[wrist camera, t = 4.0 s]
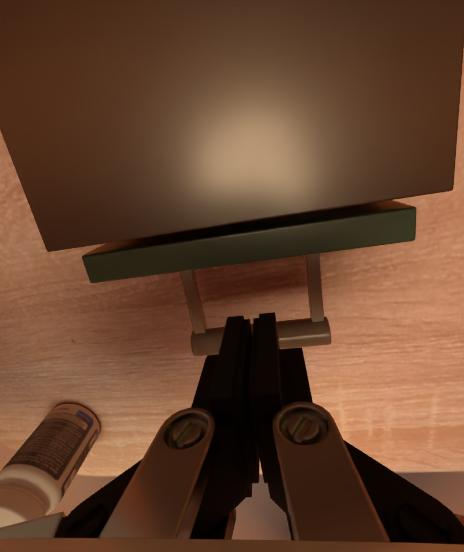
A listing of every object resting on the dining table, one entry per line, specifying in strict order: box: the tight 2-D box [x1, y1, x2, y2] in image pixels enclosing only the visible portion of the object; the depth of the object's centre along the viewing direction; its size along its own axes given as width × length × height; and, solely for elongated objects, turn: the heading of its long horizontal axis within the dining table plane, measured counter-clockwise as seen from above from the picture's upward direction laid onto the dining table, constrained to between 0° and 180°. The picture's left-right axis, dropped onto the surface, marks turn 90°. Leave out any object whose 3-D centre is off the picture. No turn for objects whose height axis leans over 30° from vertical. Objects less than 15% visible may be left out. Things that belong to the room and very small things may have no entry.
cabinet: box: [0, 0, 464, 252], centre depth 12 cm, size 15×14×10 cm
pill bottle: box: [0, 404, 100, 528], centre depth 23 cm, size 5×5×8 cm
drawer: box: [82, 200, 416, 356], centre depth 14 cm, size 19×12×8 cm, turn 10°
